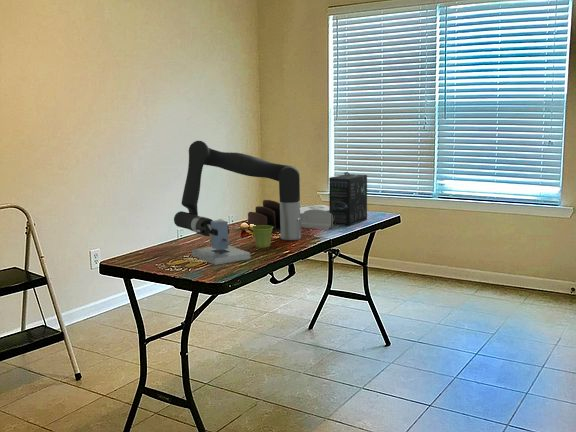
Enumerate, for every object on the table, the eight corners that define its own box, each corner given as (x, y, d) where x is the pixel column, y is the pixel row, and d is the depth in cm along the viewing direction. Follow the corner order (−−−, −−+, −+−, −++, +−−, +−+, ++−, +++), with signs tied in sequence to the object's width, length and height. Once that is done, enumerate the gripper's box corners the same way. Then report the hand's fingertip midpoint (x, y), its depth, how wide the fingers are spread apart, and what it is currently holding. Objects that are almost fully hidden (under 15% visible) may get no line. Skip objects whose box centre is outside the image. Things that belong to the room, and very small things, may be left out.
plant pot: (271, 249, 272) (271, 229, 270) (250, 248, 273) (249, 229, 272) (275, 244, 281) (275, 225, 279) (254, 244, 282) (254, 225, 281)
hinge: (298, 227, 320) (301, 207, 321) (302, 228, 324) (305, 209, 325) (329, 229, 312) (331, 209, 313) (332, 231, 316) (335, 211, 317)
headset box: (347, 217, 344) (347, 169, 339) (367, 219, 338) (368, 170, 333) (328, 224, 325) (328, 174, 320) (349, 226, 319) (349, 175, 314)
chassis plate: (191, 255, 263) (191, 249, 262) (225, 250, 272) (225, 244, 271) (215, 265, 246) (214, 258, 246) (250, 258, 255) (250, 252, 255)
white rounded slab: (270, 218, 347) (270, 209, 346) (323, 213, 361) (323, 204, 360) (285, 224, 330) (285, 214, 330) (340, 218, 345) (340, 209, 344)
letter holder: (264, 225, 327) (264, 198, 325) (284, 231, 311) (283, 202, 308) (247, 227, 322) (246, 199, 320) (266, 233, 306) (265, 204, 303)
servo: (210, 247, 260) (209, 218, 258) (219, 245, 263) (218, 217, 261) (221, 251, 252) (221, 221, 251) (231, 249, 255) (230, 220, 253)
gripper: (187, 219, 264) (206, 225, 250) (217, 215, 272) (238, 221, 258) (188, 236, 265) (207, 243, 251) (218, 232, 273) (238, 239, 259)
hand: (222, 232), depth 255 cm, fingers closed on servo, 4 cm apart
